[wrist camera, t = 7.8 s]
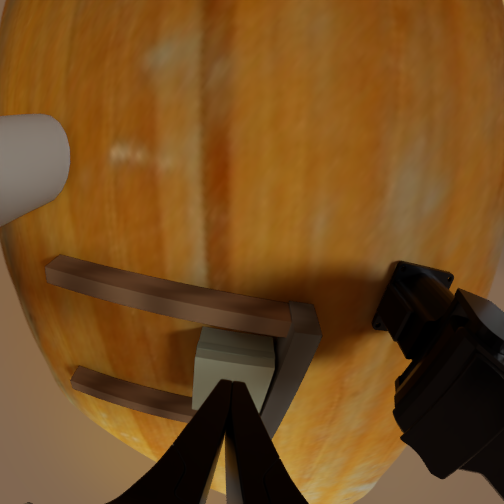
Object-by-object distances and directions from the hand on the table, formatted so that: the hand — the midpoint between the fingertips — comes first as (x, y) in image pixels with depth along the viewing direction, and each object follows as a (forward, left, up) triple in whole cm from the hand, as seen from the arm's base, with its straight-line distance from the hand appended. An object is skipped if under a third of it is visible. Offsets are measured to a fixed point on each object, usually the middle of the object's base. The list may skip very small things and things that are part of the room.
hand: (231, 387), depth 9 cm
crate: (-1, +11, -13) cm, 17 cm away
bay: (+5, +12, -13) cm, 18 cm away
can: (+18, -4, -13) cm, 22 cm away
